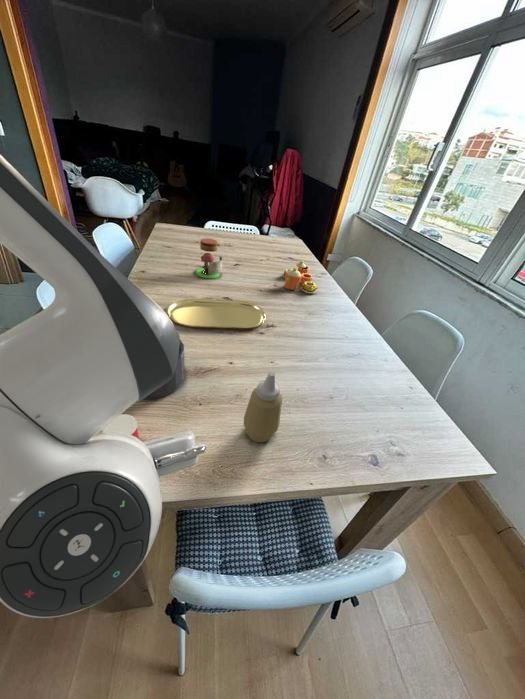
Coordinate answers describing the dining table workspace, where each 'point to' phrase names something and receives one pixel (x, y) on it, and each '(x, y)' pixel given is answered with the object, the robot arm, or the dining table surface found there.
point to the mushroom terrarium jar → (209, 260)
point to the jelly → (123, 425)
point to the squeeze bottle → (263, 410)
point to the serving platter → (216, 314)
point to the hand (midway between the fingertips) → (116, 458)
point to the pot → (176, 379)
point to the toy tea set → (299, 278)
